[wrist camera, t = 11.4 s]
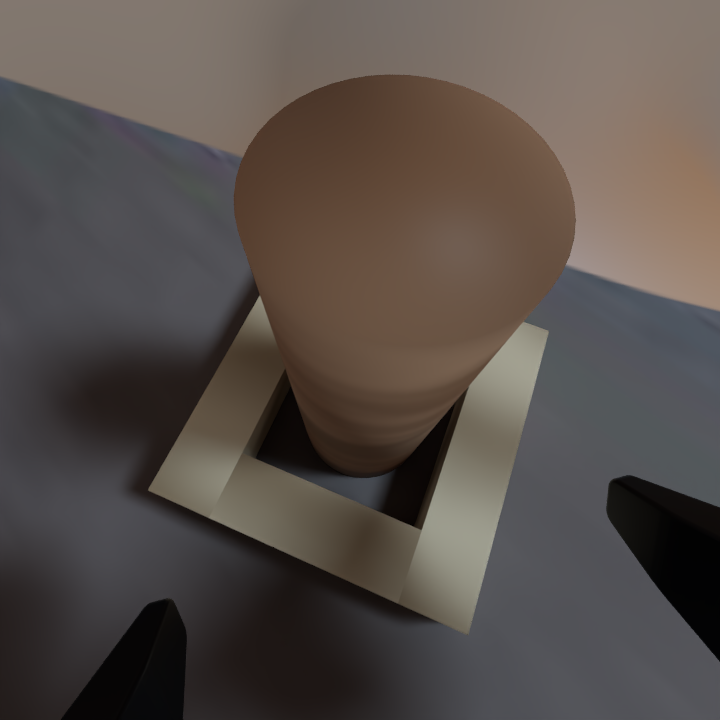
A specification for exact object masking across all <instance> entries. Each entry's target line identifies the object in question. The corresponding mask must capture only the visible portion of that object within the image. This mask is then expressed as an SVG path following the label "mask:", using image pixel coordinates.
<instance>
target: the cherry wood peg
mask: <svg viewBox="0 0 720 720" xmlns="http://www.w3.org/2000/svg"><path fill="white" fill-rule="evenodd" d="M234 211H235V219H236V223H237V228H238V232H239V236H240V238H241V241H242V244H243V247H244V250H245V253H246V256H247V259H248V262H249V265H250V268H251V270H252V273H253V276H254V279H255V282H256V285H257V288H258V291H259V294H260V297H261V300H262V302H263V305H264V308H265V311H266V314H267V317H268V320H269V323H270V326H271V329H272V331H273V334H274V337H275V340H276V343H277V346H278V349H279V352H280V355H281V358H282V361H283V363H284V366H285V369H286V372H287V375H288V378H289V381H290V384H291V387H292V390H293V393H294V395H295V398H296V401H297V404H298V407H299V410H300V413H301V416H302V419H303V422H304V424H305V427H306V430H307V433H308V436H309V439H310V441H311V444H312V446H313V448H314V450H315V451H316V453H317V454H318V455H319V457H320V458H321V459H322V460H323V461H324V462H325V463H326V464H327V465H329V466H330V467H331V468H333V469H334V470H336V471H338V472H340V473H343V474H345V475H348V476H352V477H359V478H371V477H377V476H381V475H384V474H386V473H389V472H391V471H393V470H394V469H396V468H398V467H399V466H400V465H401V464H403V463H404V462H405V461H406V460H407V458H408V457H409V456H410V455H411V454H412V453H413V451H414V450H415V449H416V448H417V447H418V446H419V444H420V443H421V442H422V441H423V440H424V438H425V437H426V436H427V435H428V434H429V433H430V431H431V430H432V429H433V428H434V427H435V426H436V424H437V423H438V422H439V421H440V420H441V418H442V417H443V416H444V415H445V414H446V413H447V411H448V410H449V409H450V408H451V407H452V405H453V404H454V403H455V402H456V401H457V400H458V398H459V397H460V396H461V395H462V394H463V392H464V391H465V390H466V389H467V388H468V387H469V385H470V384H471V383H472V382H473V381H474V379H475V378H476V377H477V376H478V375H479V374H480V372H481V371H482V370H483V369H484V368H485V366H486V365H487V364H488V363H489V362H490V361H491V359H492V358H493V357H494V356H495V355H496V353H497V352H498V351H499V350H500V349H501V348H502V346H503V345H504V344H505V343H506V342H507V340H508V339H509V338H510V337H511V336H512V335H513V333H514V332H515V331H516V330H517V329H518V327H519V326H520V325H521V324H522V323H523V322H524V320H525V319H526V318H527V317H528V316H529V314H530V313H531V312H532V311H533V310H534V309H535V307H536V306H537V305H538V304H539V303H540V301H541V300H542V299H543V298H544V297H545V296H546V294H547V293H548V292H549V291H550V290H551V288H552V287H553V285H554V284H555V282H556V281H557V279H558V278H559V276H560V275H561V273H562V271H563V269H564V267H565V265H566V263H567V260H568V258H569V256H570V252H571V249H572V245H573V241H574V235H575V222H576V218H575V206H574V200H573V196H572V191H571V187H570V184H569V182H568V179H567V177H566V174H565V172H564V169H563V168H562V166H561V164H560V162H559V161H558V159H557V157H556V155H555V154H554V152H553V151H552V150H551V149H550V147H549V146H548V145H547V143H546V142H545V141H544V140H543V138H542V137H541V136H540V135H539V134H538V133H537V132H536V131H535V130H534V129H533V128H532V127H531V126H530V125H529V124H528V123H526V122H525V121H524V120H523V119H521V118H520V117H519V116H518V115H517V114H515V113H514V112H512V111H511V110H509V109H508V108H506V107H505V106H503V105H502V104H500V103H498V102H496V101H494V100H492V99H491V98H489V97H487V96H485V95H483V94H480V93H478V92H476V91H473V90H471V89H468V88H466V87H463V86H459V85H456V84H453V83H449V82H447V81H441V80H437V79H432V78H427V77H419V76H411V75H375V76H365V77H359V78H353V79H348V80H344V81H340V82H337V83H333V84H330V85H327V86H324V87H322V88H319V89H316V90H314V91H312V92H310V93H308V94H306V95H304V96H302V97H300V98H298V99H297V100H295V101H294V102H292V103H290V104H289V105H287V106H286V107H284V108H283V109H282V110H281V111H279V112H278V113H277V114H276V115H275V116H273V117H272V118H271V119H270V120H269V121H268V122H267V123H266V124H265V125H264V127H263V128H262V129H261V130H260V131H259V132H258V133H257V135H256V136H255V138H254V139H253V141H252V142H251V144H250V145H249V146H248V149H247V151H246V153H245V155H244V157H243V159H242V161H241V164H240V167H239V170H238V174H237V177H236V183H235V191H234Z"/></svg>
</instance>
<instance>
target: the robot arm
mask: <svg viewBox="0 0 720 720" xmlns="http://www.w3.org/2000/svg"><path fill="white" fill-rule="evenodd" d="M606 511H607V515H608V518H609V520H610V521H611V523H612V524H613V526H614V527H615V529H616V530H617V531H618V533H619V534H620V536H621V537H622V539H623V540H624V541H625V543H626V544H627V546H628V547H629V548H630V550H631V551H632V553H633V554H634V555H635V557H636V558H637V560H638V561H639V563H640V564H641V565H642V567H643V568H644V570H645V571H646V572H647V574H648V575H649V577H650V578H651V579H652V581H653V582H654V583H655V585H656V586H657V587H658V589H659V590H660V591H661V592H662V594H663V595H664V596H665V597H666V599H667V600H668V601H669V602H670V603H671V604H672V606H673V607H674V608H675V609H676V610H677V612H678V613H679V614H680V615H681V616H682V617H683V619H684V620H685V621H686V622H687V623H688V625H689V626H690V627H691V628H692V629H693V630H694V632H695V633H696V634H697V635H698V636H699V638H700V639H701V640H702V641H703V642H704V643H705V645H706V646H707V647H708V648H709V649H710V651H711V652H712V653H713V654H714V655H715V656H716V658H717V659H718V660H719V661H720V507H717V506H714V505H712V504H709V503H706V502H703V501H701V500H698V499H695V498H692V497H690V496H687V495H684V494H681V493H679V492H676V491H673V490H670V489H668V488H665V487H662V486H659V485H657V484H654V483H651V482H648V481H646V480H643V479H640V478H637V477H635V476H631V475H626V476H623V477H619V478H615V479H612V480H611V481H610V483H609V487H608V497H607V506H606ZM186 646H187V635H186V629H185V626H184V623H183V621H182V619H181V616H180V614H179V612H178V610H177V607H176V605H175V603H174V601H173V600H172V599H170V598H166V599H163V600H159V601H155V602H152V603H149V604H148V605H147V606H145V607H144V609H143V610H142V611H141V613H140V614H139V615H138V617H137V618H136V619H135V621H134V622H133V623H132V625H131V626H130V627H129V629H128V630H127V631H126V633H125V634H124V635H123V637H122V638H121V639H120V641H119V642H118V644H117V645H116V646H115V648H114V649H113V650H112V652H111V653H110V654H109V656H108V657H107V658H106V660H105V661H104V662H103V664H102V665H101V666H100V668H99V669H98V670H97V672H96V673H95V674H94V676H93V677H92V678H91V680H90V681H89V682H88V684H87V685H86V686H85V688H84V689H83V690H82V692H81V693H80V694H79V696H78V697H77V699H76V700H75V701H74V703H73V704H72V705H71V707H70V708H69V709H68V711H67V712H66V713H65V715H64V716H63V717H62V719H61V720H183V706H184V686H185V666H186Z"/></svg>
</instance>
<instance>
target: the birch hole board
mask: <svg viewBox="0 0 720 720" xmlns="http://www.w3.org/2000/svg"><path fill="white" fill-rule="evenodd" d="M548 333H549V331H547V330H544V329H542V328H539V327H536V326H533V325H531V324H528V323H525V322H523V323H522V324H521V325H520V326H519V327H518V329H517V330H516V331H515V332H514V333H513V335H512V336H511V337H510V338H509V339H508V340H507V342H506V343H505V344H504V345H503V346H502V348H501V349H500V350H499V351H498V352H497V353H496V355H495V356H494V357H493V358H492V359H491V361H490V362H489V363H488V364H487V365H486V366H485V368H484V369H483V370H482V371H481V372H480V374H479V375H478V376H477V377H476V378H475V379H474V381H473V382H472V383H471V384H470V385H469V387H468V388H467V389H466V390H465V391H464V392H463V394H462V395H461V396H460V397H459V398H458V400H457V401H456V403H455V406H454V409H453V412H452V415H451V418H450V421H449V424H448V427H447V430H446V433H445V436H444V439H443V442H442V445H441V448H440V451H439V454H438V457H437V460H436V463H435V466H434V469H433V472H432V475H431V478H430V481H429V484H428V486H427V489H426V492H425V495H424V498H423V501H422V504H421V507H420V510H419V513H418V516H417V519H416V522H415V525H414V527H413V526H411V525H408V524H406V523H404V522H401V521H399V520H397V519H394V518H392V517H390V516H387V515H385V514H383V513H380V512H378V511H376V510H373V509H371V508H369V507H367V506H364V505H362V504H360V503H357V502H355V501H353V500H350V499H348V498H346V497H343V496H341V495H339V494H336V493H334V492H332V491H329V490H327V489H325V488H322V487H320V486H318V485H315V484H313V483H311V482H308V481H306V480H304V479H302V478H299V477H297V476H295V475H292V474H290V473H288V472H285V471H283V470H281V469H278V468H276V467H274V466H271V465H269V464H267V463H264V462H262V461H260V460H257V459H255V457H256V455H257V453H258V451H259V449H260V447H261V445H262V443H263V441H264V439H265V437H266V435H267V433H268V431H269V429H270V427H271V425H272V423H273V421H274V419H275V417H276V415H277V413H278V411H279V409H280V407H281V405H282V403H283V401H284V399H285V397H286V395H287V393H288V391H289V389H290V387H291V384H290V381H289V378H288V375H287V372H286V369H285V366H284V363H283V361H282V358H281V355H280V352H279V349H278V346H277V343H276V340H275V337H274V334H273V331H272V329H271V326H270V323H269V320H268V317H267V314H266V311H265V308H264V305H263V302H262V300H261V297H260V296H259V298H258V300H257V301H256V303H255V305H254V307H253V308H252V310H251V312H250V313H249V315H248V317H247V319H246V320H245V322H244V324H243V326H242V327H241V329H240V331H239V333H238V334H237V336H236V338H235V340H234V341H233V343H232V345H231V347H230V348H229V350H228V352H227V353H226V355H225V357H224V359H223V360H222V362H221V364H220V366H219V367H218V369H217V371H216V373H215V374H214V376H213V378H212V380H211V381H210V383H209V385H208V386H207V388H206V390H205V392H204V393H203V395H202V397H201V399H200V400H199V402H198V404H197V406H196V407H195V409H194V411H193V413H192V414H191V416H190V418H189V420H188V421H187V423H186V425H185V426H184V428H183V430H182V432H181V433H180V435H179V437H178V439H177V440H176V442H175V444H174V446H173V447H172V449H171V451H170V453H169V454H168V456H167V458H166V459H165V461H164V463H163V465H162V466H161V468H160V470H159V472H158V473H157V475H156V477H155V479H154V480H153V482H152V484H151V486H150V487H149V489H148V491H150V492H153V493H155V494H157V495H159V496H162V497H164V498H166V499H168V500H170V501H173V502H175V503H177V504H179V505H181V506H184V507H186V508H188V509H190V510H192V511H195V512H197V513H199V514H201V515H203V516H206V517H208V518H210V519H212V520H214V521H217V522H219V523H221V524H223V525H226V526H228V527H230V528H232V529H234V530H237V531H239V532H241V533H243V534H245V535H248V536H250V537H252V538H254V539H256V540H259V541H261V542H263V543H265V544H267V545H270V546H272V547H274V548H276V549H278V550H281V551H283V552H285V553H287V554H290V555H292V556H294V557H296V558H298V559H301V560H303V561H305V562H307V563H309V564H312V565H314V566H316V567H318V568H320V569H323V570H325V571H327V572H329V573H331V574H334V575H336V576H338V577H340V578H342V579H345V580H347V581H349V582H351V583H354V584H356V585H358V586H360V587H362V588H365V589H367V590H369V591H371V592H373V593H376V594H378V595H380V596H382V597H384V598H387V599H389V600H391V601H393V602H395V603H398V604H400V605H402V606H404V607H406V608H409V609H411V610H413V611H415V612H418V613H420V614H422V615H424V616H426V617H429V618H431V619H433V620H435V621H437V622H440V623H442V624H444V625H446V626H448V627H451V628H453V629H455V630H457V631H459V632H462V633H464V634H466V635H468V634H469V630H470V626H471V622H472V619H473V615H474V611H475V607H476V604H477V600H478V596H479V592H480V588H481V585H482V581H483V577H484V573H485V570H486V566H487V562H488V558H489V555H490V551H491V547H492V543H493V540H494V536H495V532H496V528H497V525H498V521H499V517H500V513H501V509H502V506H503V502H504V498H505V494H506V491H507V487H508V483H509V479H510V476H511V472H512V468H513V464H514V461H515V457H516V453H517V449H518V445H519V442H520V438H521V434H522V430H523V427H524V423H525V419H526V415H527V412H528V408H529V404H530V400H531V397H532V393H533V389H534V385H535V382H536V378H537V374H538V370H539V366H540V363H541V359H542V355H543V351H544V348H545V344H546V340H547V336H548Z"/></svg>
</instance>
